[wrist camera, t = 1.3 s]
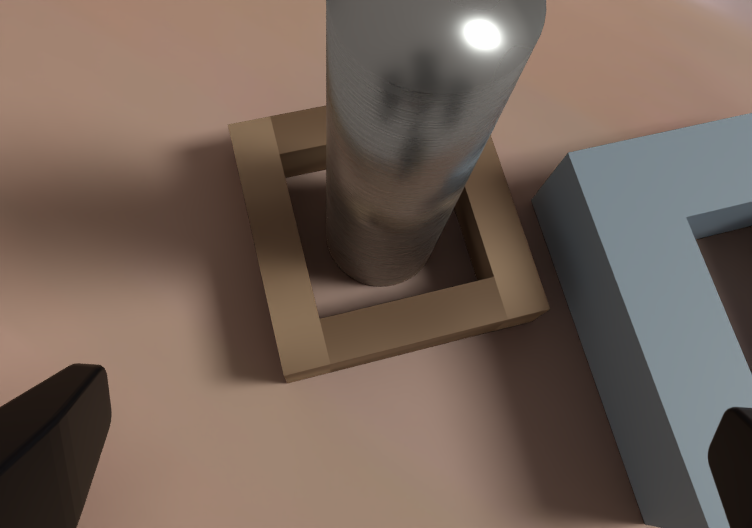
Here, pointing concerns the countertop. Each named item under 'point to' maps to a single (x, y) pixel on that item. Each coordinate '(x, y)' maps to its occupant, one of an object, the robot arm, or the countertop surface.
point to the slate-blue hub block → (656, 300)
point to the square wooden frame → (388, 320)
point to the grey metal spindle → (412, 119)
